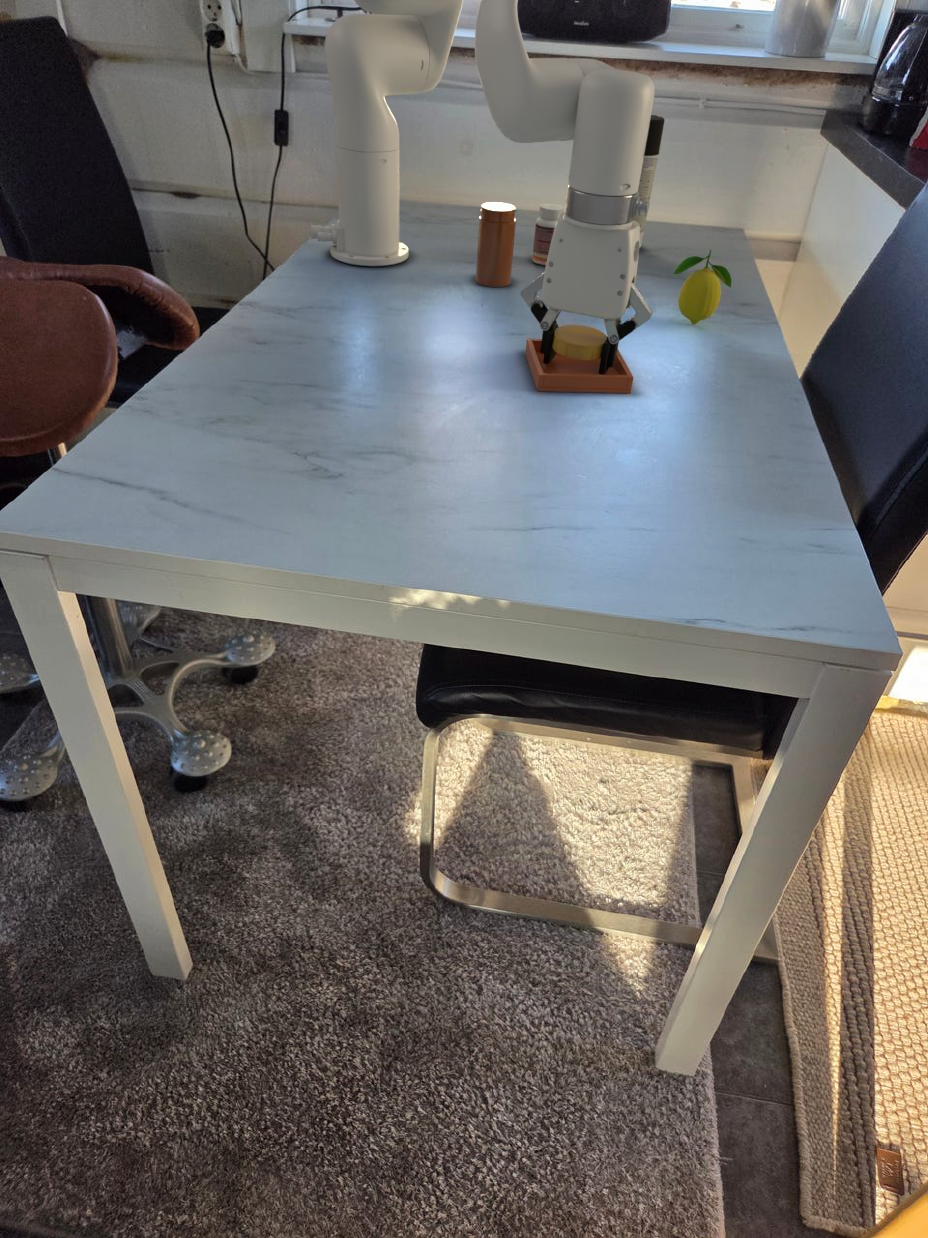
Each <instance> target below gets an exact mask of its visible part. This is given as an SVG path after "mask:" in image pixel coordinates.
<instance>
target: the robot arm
mask: <svg viewBox="0 0 928 1238" xmlns="http://www.w3.org/2000/svg"><path fill="white" fill-rule="evenodd" d="M353 1H354V2H355V3H356V5H357V6H358V7H359V8H361V9H362V10H363V11H366V12H369V13H352V14H347V15H343V16H342V17H339V18H338V19H336V20H334V22H333V23H332V24H331V25H330V26H329V28H328V30H327V31H326V35H325V40H324V56H325V64H326V68H327V69H326V70H327V75H328V80H329V85H330V91H331V97H332V105H333V116H334V133H335V134H334V137H335V157H336V160H335V161H336V182H337V183H336V184H337V206H338V211H337V212H338V218H337V221H336V223H335V224H333V223H331V224H330V226H323V225H310V236H311V237H310V238H311V239H312V240H313V239H314V240H315V239H317V242H323V243H325V242H326V243H327V242H332V243H331V244H330V247H329V251H330V252H329V253H330V255H331V257H332V258H334V259H335V260H337V261H339V262H342V263H345V264H349V265H353V266H362V267H385V266H386V267H387V266H391V265H392V266H393V265H396V264H397V265H398V264H400V263H403V262H405V261H406V260H407V259H408V258H409V256H410V250H409V247H408V245H406V244H405V243H403V242H401V241H400V176H401V175H400V163H401V161H400V153H401V152H400V130H399V126H398V122H397V120H396V118H395V116H394V115H393V112H392V111H391V108H390V107H389V105H388V104H387V101H386V98H385V97H386V96H387V97H388V96H392V95H394V96H395V95H418V94H420V95H421V94H425V93H429V92H432V91H433V90H434V89H435V88H436V87H437V86H438V84H440V81H441V80H442V77H443V75H444V72H445V70H446V66H447V62H448V59H449V55H450V51H451V49H452V45H453V42H454V38H455V34H456V31H457V27H458V23H459V20H460V15H461V12H462V8H463V5H464V1H465V0H353ZM518 1H519V0H480V2H479V6H478V8H477V9H478V10H477V15H476V22H475V32H474V33H475V35H474V57H475V65H476V69H477V73H478V77H479V80H480V84H481V87H482V90H483V94H484V98H485V100H486V103H487V107H488V110H489V112H490V115H491V117H492V120H493V122H494V123H495V126H496V127H497V129H498V130H499V132H500V133H501V134H502V135H503V136H504V137H505V138H507V139H508V140H510V141H512V142H515V143H519V144H534V143H544V142H558V141H559V142H568V141H569V142H570V141H572V150H571V158H570V165H569V172H568V173H569V174H568V181H567V182H568V183H567V188H566V196H565V197H566V198H565V205H564V207H565V212H562V213H560V215H559V216H558V219H557V222H556V225H555V229H554V232H553V236H552V240H551V244H550V249H549V253H548V258H547V263H546V265H545V269H544V272H542V273H541V274H540V275H539V276H537V277H536V278H535V279H534V280H532V281H531V282H529V284H527V285H525V286H524V287H523V289H521V291H520V296H521V298H522V299H523V301H524V302H525V304H526V305H527V306H528V307H529V308H530V312H531V314H532V315H533V316H534V318H535V319H536V321H537V322H538V324H539V328H540V329H541V331H542V333H541V334H542V335H541V339H542V342H541V351H540V352H541V353H542V354H544V359H543V364H548V363H550V362H551V361H552V359H553V358H554V357H555V354H556V352H555V351H554V349H553V348H552V343H553V335H554V331H555V329H556V328H558V327H559V324H558V321H557V319H558V317H559V316H560V314H561V313H562V312H566V313H569V314H576V315H580V316H587V317H592V318H595V319H596V318H597V319H602V320H603V322H604V326H605V327H604V328H605V331H606V336H607V339H606V341H605V342H604V344H603V349H602V355H601V361H600V367H599V374H600V375H605V374H606V372H607V371H608V369H609V367H611V368H613V366H614V364H615V360H616V355H617V349H618V350H619V345H620V344H619V343H620V341H621V340H623V339H624V338H625V337H627V336H628V335H630V334H632V333H633V332H634V331H635V330H636V329H637V328H639V327H641V326H642V325H643V324H644V323H646V322H648V321H649V320H650V319H651V317H652V316H653V314H654V311H653V310H652V307H650V305H649V304H648V302H647V301H646V299H645V298H644V296H643V295H642V294H641V292H640V291H639V289H638V288H637V286H636V279H637V272H638V266H639V265H638V264H639V256H640V255H639V254H640V249H639V241H640V225H639V223H638V222H636V221H633V218H635V217H636V216H640V215H644V216H647V217H648V213H649V209H650V202H645V201H643V200H641V199H640V197H638V195H639V192H638V187H639V181H640V176H641V170H642V164H643V159H644V153H645V147H646V141H647V136H648V130H649V124H650V119H651V115H652V112H653V107H654V100H655V92H656V91H655V90H656V89H655V84H654V81H653V80H652V79H651V78H650V77H649V76H648V75H646V74H644V73H641V72H638V71H634V70H633V71H632V70H627V69H626V70H624V69H617V68H615V67H613V66H611V65H609V64H607V63H606V62H603V61H601V60H598V59H594V58H588V57H587V58H586V57H585V58H584V57H580V58H579V57H577V58H576V57H575V58H574V57H573V58H567V57H533V58H530V57H529V55H528V52H527V49H526V45H525V42H524V39H523V38H524V37H523V35H522V30H521V26H520V22H519V16H518V14H519V13H518V3H519V2H518ZM540 290H541V299H540V296H539V295H538V292H539V291H540ZM631 307H632V309H634V311H635V314H634V315H633V316H631V317H629V318H628V319H627V320H626V321H624V322H622V318H623V317H624V315H625V313H626V310H627V309H630V308H631Z"/></svg>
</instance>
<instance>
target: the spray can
mask: <svg viewBox="0 0 928 1238" xmlns="http://www.w3.org/2000/svg"><path fill="white" fill-rule="evenodd" d="M664 126H665V118H664V117H662V116H658V115H656V114H651V119H650V124H649V130H648V136H647V141H646V147H645V153H644V159H643V164H642V170H641V176H640V181H639V187H638V192H639V195H638V197H640V199H641V200H643V201H645V202H649V203H650V201H651V196H652V191H653V185H654V180H655V175H656V170H657V165H658V159H659V154H660V150H661V143H662V138H663V132H664ZM647 218H648V215H647V216H644V215H640V216H636V217H635V218H633V221H636V222H638V223H639V225H640V241H639V250H640V249H641V247H642V243H643V237H644V233H645V228H646V222H647Z"/></svg>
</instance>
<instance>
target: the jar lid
mask: <svg viewBox="0 0 928 1238" xmlns="http://www.w3.org/2000/svg"><path fill="white" fill-rule="evenodd" d="M607 336H608V335H607V333H604V332H603V331H601V330H600V329H597V328H595V327H591V326H587V325H581V324H563V325H560V326H558V328H556V329H555V331H554V335H553V343H552V348H553V349H554V351H555V352H557V353H558V354H560V355H562V356H565V357H568V358H571V359H577V360H596V359H599V358H601V355H602V349H603V344H604V342H605V341H606V339H607Z"/></svg>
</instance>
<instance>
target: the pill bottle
mask: <svg viewBox="0 0 928 1238" xmlns="http://www.w3.org/2000/svg"><path fill="white" fill-rule="evenodd" d="M538 210H539V212H538V216H539V217H538V218H537V219H536V220H535V228H534V236H533V237H534V238H533V247H532V255H531V256H532V257H531V260H532V262H533V263H535V264H538V265H541V266H546V263H547V258H548V253H549V249H550V244H551V240H552V236H553V232H554V229H555V225H556V222H557V219H558V216H559V215H560V213H562V212H565V206H563V205H561V204H555V203H541V204H540V205H539V209H538Z"/></svg>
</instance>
